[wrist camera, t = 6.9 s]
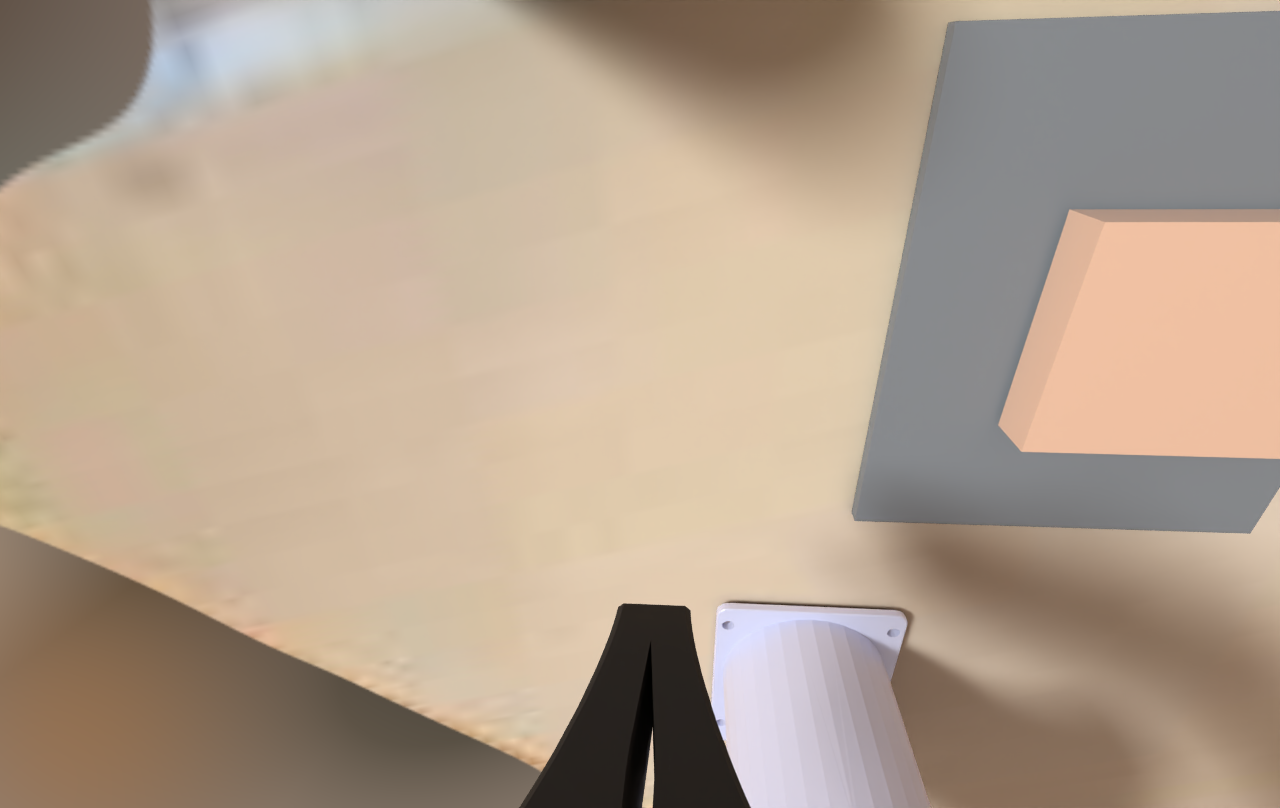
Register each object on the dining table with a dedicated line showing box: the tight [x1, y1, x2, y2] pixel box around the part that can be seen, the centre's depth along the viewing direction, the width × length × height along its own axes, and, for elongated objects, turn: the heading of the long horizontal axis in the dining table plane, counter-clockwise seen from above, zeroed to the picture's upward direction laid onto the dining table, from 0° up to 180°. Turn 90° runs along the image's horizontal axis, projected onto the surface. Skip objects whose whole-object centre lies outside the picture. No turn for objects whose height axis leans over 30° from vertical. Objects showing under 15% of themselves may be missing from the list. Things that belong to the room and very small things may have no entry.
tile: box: [998, 209, 1280, 459], centre depth 17 cm, size 7×2×9 cm
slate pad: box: [852, 11, 1280, 533], centre depth 18 cm, size 16×14×1 cm
